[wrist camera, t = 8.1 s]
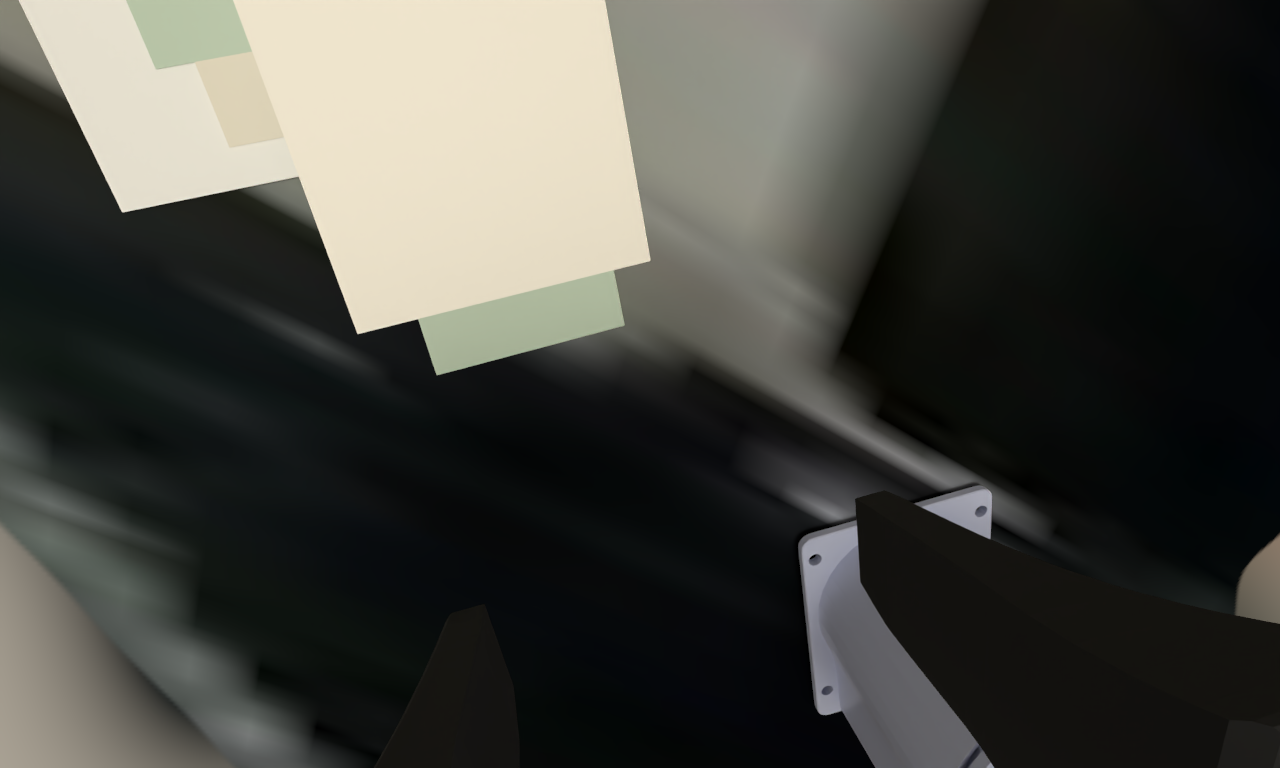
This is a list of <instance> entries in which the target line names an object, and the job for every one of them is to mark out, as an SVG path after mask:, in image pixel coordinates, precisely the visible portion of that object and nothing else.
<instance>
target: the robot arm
mask: <svg viewBox="0 0 1280 768" xmlns="http://www.w3.org/2000/svg"><path fill="white" fill-rule="evenodd" d="M855 502H856V518H857V520H855V521H851V522H848V523H845V524H841V525H838V526H834V527H831V528H827V529H824V530H820V531H817V532H813V533H810V534H807V535H805V536H804V537H803V538H802V539H801V540H800V542H799V545H798V551H799V561H800V570H801V580H802V590H803V599H804V609H805V618H806V628H807V638H808V647H809V657H810V666H811V676H812V686H813V695H814V704H815V707H816V709H817V710H818V712H819V713H820V714H822V715H829V714H832V713H835V712H839V711H843V713H844V715H845V716H846V718H847V720H848V722H849V723H850V725H851V727H852V728H853V730H854V732H855V734H856V735H857V737H858V739H859V740H860V742H861V744H862V746H863V747H864V749H865V751H866V752H867V754H868V756H869V757H870V759H871V761H872V763H873V764H874V766H875V768H1280V624H1277V623H1271V622H1266V621H1261V620H1256V619H1251V618H1246V617H1240V616H1236V615H1231V614H1225V613H1220V612H1216V611H1211V610H1207V609H1203V608H1198V607H1194V606H1189V605H1185V604H1181V603H1177V602H1173V601H1169V600H1166V599H1162V598H1158V597H1154V596H1150V595H1146V594H1142V593H1139V592H1135V591H1132V590H1128V589H1125V588H1121V587H1118V586H1115V585H1111V584H1108V583H1105V582H1102V581H1099V580H1096V579H1093V578H1090V577H1087V576H1084V575H1081V574H1078V573H1075V572H1072V571H1069V570H1066V569H1063V568H1060V567H1058V566H1055V565H1052V564H1049V563H1047V562H1044V561H1042V560H1039V559H1037V558H1034V557H1032V556H1029V555H1027V554H1024V553H1022V552H1019V551H1017V550H1014V549H1012V548H1009V547H1007V546H1005V545H1002V544H1000V543H998V542H995V541H993V540H991V539H990V538H991V513H992V494H991V492H990V491H989V490H988V489H987V488H985V487H984V486H981V485H978V486H973V487H970V488H966V489H963V490H959V491H956V492H952V493H949V494H945V495H942V496H938V497H935V498H931V499H928V500H924V501H921V502H918V503H912V502H909V501H907V500H905V499H903V498H901V497H899V496H896V495H894V494H892V493H890V492H887V491H885V490H884V491H881V492H877V493H874V494H870V495H867V496H863V497H860V498H856V499H855ZM978 507H979V509H978V510H976V509H977V508H978ZM814 554H817V555H816V556H815V557H814V558H813V559H810V557H811V556H813V555H814ZM374 768H519V733H518V723H517V713H516V704H515V696H514V687H513V683H512V680H511V678H510V675H509V672H508V669H507V666H506V664H505V661H504V658H503V655H502V652H501V649H500V647H499V644H498V641H497V638H496V635H495V632H494V630H493V627H492V624H491V621H490V618H489V616H488V613H487V610H486V607H485V604H483V605H479V606H476V607H472V608H469V609H465V610H462V611H458V612H455V613H451V614H450V616H449V617H448V619H447V620H446V623H445V625H444V627H443V630H442V632H441V635H440V637H439V639H438V642H437V644H436V646H435V649H434V651H433V653H432V655H431V658H430V660H429V662H428V664H427V667H426V669H425V671H424V673H423V675H422V678H421V680H420V682H419V684H418V686H417V688H416V690H415V692H414V694H413V696H412V698H411V700H410V702H409V704H408V706H407V708H406V710H405V712H404V714H403V716H402V718H401V720H400V722H399V724H398V726H397V727H396V729H395V731H394V733H393V735H392V737H391V738H390V740H389V742H388V744H387V746H386V747H385V749H384V751H383V753H382V755H381V756H380V758H379V760H378V762H377V764H376V765H375V767H374Z"/></svg>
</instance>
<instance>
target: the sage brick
mask: <svg viewBox="0 0 1280 768" xmlns="http://www.w3.org/2000/svg"><path fill="white" fill-rule="evenodd" d="M418 320H419V323H420V326H421V329H422V332H423V336H424V339H425V342H426V345H427V348H428V351H429V354H430V357H431V360H432V363H433V366H434V369H435V372H436V375H440V374H444V373H448V372H451V371H455V370H459V369H463V368H466V367H470V366H474V365H478V364H482V363H485V362H489V361H493V360H497V359H500V358H504V357H508V356H512V355H515V354H519V353H523V352H527V351H531V350H534V349H538V348H542V347H546V346H549V345H553V344H557V343H561V342H565V341H568V340H572V339H576V338H580V337H583V336H587V335H591V334H595V333H598V332H602V331H606V330H610V329H614V328H617V327H621V326H625V324H624V319H623V314H622V309H621V304H620V299H619V294H618V289H617V284H616V279H615V274H614V270H612V271H608V272H604V273H600V274H596V275H592V276H588V277H584V278H580V279H576V280H572V281H568V282H564V283H560V284H556V285H552V286H548V287H544V288H540V289H536V290H532V291H528V292H524V293H520V294H516V295H512V296H508V297H504V298H500V299H496V300H492V301H488V302H484V303H480V304H476V305H472V306H468V307H464V308H460V309H456V310H452V311H448V312H444V313H440V314H436V315H432V316H428V317H424V318H420V319H418Z"/></svg>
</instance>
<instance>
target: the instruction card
mask: <svg viewBox="0 0 1280 768" xmlns="http://www.w3.org/2000/svg"><path fill="white" fill-rule="evenodd" d="M19 2H20V4H21V6H22V8H23V10H24V12H25V14H26V16H27V18H28V20H29V22H30V24H31V26H32V28H33V30H34V32H35V34H36V37H37V39H38V41H39V43H40V45H41V47H42V49H43V51H44V53H45V55H46V57H47V59H48V61H49V63H50V65H51V67H52V69H53V71H54V73H55V75H56V77H57V80H58V82H59V84H60V86H61V88H62V90H63V92H64V94H65V96H66V98H67V100H68V102H69V104H70V106H71V108H72V110H73V112H74V114H75V116H76V118H77V121H78V123H79V125H80V127H81V129H82V131H83V133H84V135H85V137H86V139H87V141H88V143H89V145H90V147H91V149H92V151H93V153H94V155H95V157H96V159H97V162H98V164H99V166H100V168H101V170H102V172H103V174H104V176H105V178H106V180H107V182H108V184H109V186H110V188H111V190H112V192H113V194H114V196H115V198H116V200H117V203H118V205H119V207H120V209H121V211H122V212H127V211H132V210H137V209H142V208H147V207H152V206H157V205H162V204H167V203H171V202H176V201H181V200H186V199H191V198H196V197H201V196H206V195H211V194H216V193H220V192H225V191H230V190H235V189H240V188H245V187H250V186H255V185H260V184H265V183H269V182H274V181H279V180H284V179H289V178H294V177H299V176H298V173H297V170H296V168H295V165H294V162H293V160H292V157H291V154H290V152H289V149H288V146H287V144H286V141H285V138H284V135H283V133H282V130H281V127H280V125H279V122H278V119H277V117H276V114H275V111H274V109H273V106H272V103H271V101H270V98H269V95H268V93H267V90H266V87H265V85H264V82H263V79H262V77H261V74H260V71H259V69H258V66H257V63H256V60H255V58H254V55H253V52H252V50H251V47H250V44H249V42H248V39H247V36H246V34H245V31H244V28H243V26H242V23H241V20H240V18H239V15H238V12H237V10H236V7H235V4H234V2H233V0H19Z"/></svg>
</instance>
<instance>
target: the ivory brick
mask: <svg viewBox="0 0 1280 768" xmlns="http://www.w3.org/2000/svg"><path fill="white" fill-rule="evenodd" d="M233 2H234V4H235V7H236V10H237V12H238V15H239V18H240V20H241V23H242V26H243V28H244V31H245V34H246V36H247V39H248V42H249V44H250V47H251V50H252V52H253V55H254V58H255V60H256V63H257V66H258V69H259V71H260V74H261V77H262V79H263V82H264V85H265V87H266V90H267V93H268V95H269V98H270V101H271V103H272V106H273V109H274V111H275V114H276V117H277V119H278V122H279V125H280V127H281V130H282V133H283V135H284V138H285V141H286V144H287V146H288V149H289V152H290V154H291V157H292V160H293V162H294V165H295V168H296V170H297V173H298V176H299V178H300V181H301V184H302V186H303V189H304V192H305V194H306V197H307V200H308V202H309V205H310V208H311V211H312V213H313V216H314V219H315V221H316V224H317V227H318V229H319V232H320V235H321V237H322V240H323V243H324V245H325V248H326V251H327V253H328V256H329V259H330V261H331V264H332V267H333V269H334V272H335V275H336V278H337V280H338V283H339V286H340V288H341V291H342V294H343V296H344V299H345V302H346V304H347V307H348V310H349V312H350V315H351V318H352V320H353V323H354V326H355V328H356V331H357V334H360V333H364V332H368V331H372V330H376V329H380V328H384V327H388V326H392V325H396V324H400V323H404V322H408V321H412V320H416V319H420V318H424V317H428V316H432V315H436V314H440V313H444V312H448V311H452V310H456V309H460V308H464V307H468V306H472V305H476V304H480V303H484V302H488V301H492V300H496V299H500V298H504V297H508V296H512V295H516V294H520V293H524V292H528V291H532V290H536V289H540V288H544V287H548V286H552V285H556V284H560V283H564V282H568V281H572V280H576V279H580V278H584V277H588V276H592V275H596V274H600V273H604V272H608V271H612V270H616V269H620V268H624V267H628V266H632V265H636V264H640V263H644V262H648V261H651V260H650V254H649V249H648V243H647V237H646V231H645V226H644V220H643V214H642V209H641V203H640V197H639V192H638V186H637V180H636V175H635V169H634V163H633V158H632V152H631V146H630V140H629V135H628V129H627V123H626V118H625V112H624V106H623V101H622V95H621V89H620V84H619V78H618V72H617V66H616V61H615V55H614V49H613V44H612V38H611V32H610V27H609V21H608V15H607V10H606V4H605V0H233Z"/></svg>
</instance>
